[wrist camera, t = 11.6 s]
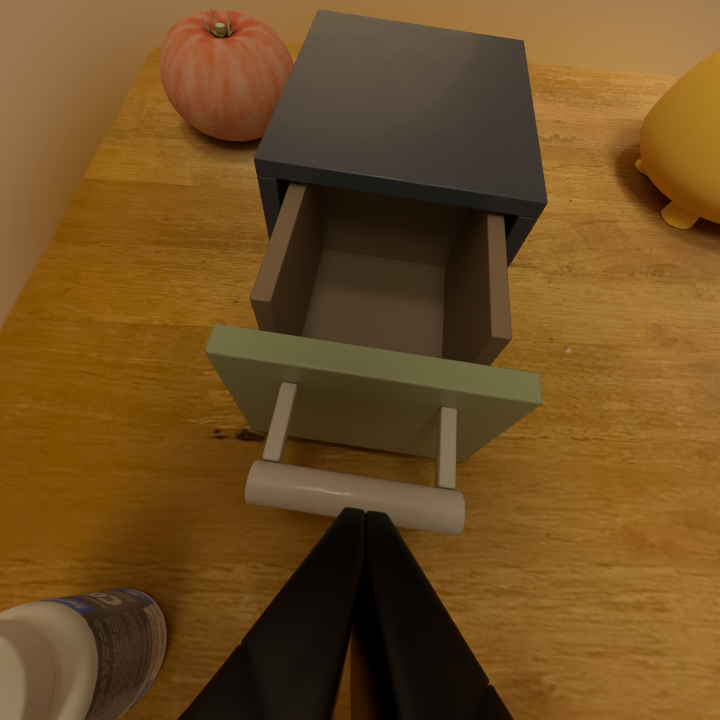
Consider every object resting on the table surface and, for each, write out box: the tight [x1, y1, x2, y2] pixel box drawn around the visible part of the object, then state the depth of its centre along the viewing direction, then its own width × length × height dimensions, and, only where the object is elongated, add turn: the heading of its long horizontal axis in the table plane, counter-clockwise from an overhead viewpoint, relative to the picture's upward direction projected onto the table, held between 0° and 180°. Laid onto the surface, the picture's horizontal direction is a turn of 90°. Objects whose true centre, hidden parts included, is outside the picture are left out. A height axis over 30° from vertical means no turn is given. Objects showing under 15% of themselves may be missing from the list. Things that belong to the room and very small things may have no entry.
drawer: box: [205, 181, 542, 536], centre depth 19 cm, size 18×12×9 cm, turn 172°
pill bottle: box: [0, 589, 167, 720], centre depth 13 cm, size 5×5×8 cm
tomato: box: [160, 10, 294, 141], centre depth 31 cm, size 11×11×8 cm
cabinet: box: [254, 10, 548, 269], centre depth 24 cm, size 15×13×11 cm
